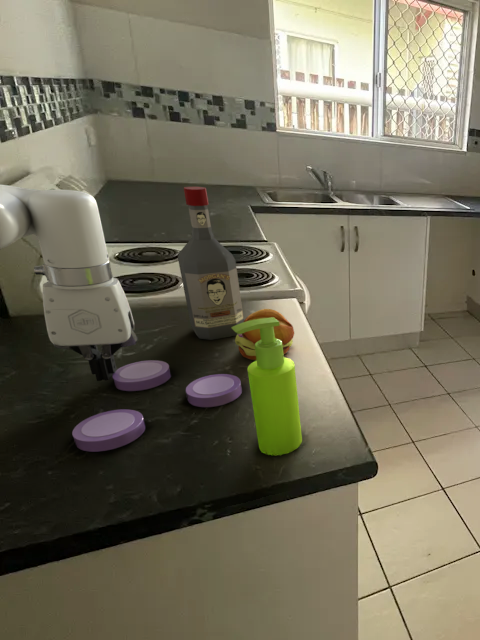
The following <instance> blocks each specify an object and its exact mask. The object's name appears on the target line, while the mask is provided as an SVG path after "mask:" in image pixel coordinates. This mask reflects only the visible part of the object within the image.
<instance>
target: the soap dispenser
mask: <svg viewBox="0 0 480 640" xmlns="http://www.w3.org/2000/svg"><path fill="white" fill-rule="evenodd" d="M274 326H280V325H279V321H278V320H276V319H275V318H274V317H271V318H261V319H255V320H250V321H246V322H243V323H240V324H238V325H235V326H233V327H231V328H232V329H233V330H234V331H235V332H236V333H237V334H242V333H245V332H248V331H251V330H255V329H260V336H261V340H259V341H257V342H256V343H255V352H256V359H257V360H254V361H253V362H251V363H250V364H249V365H248V366H247V369H246V370H247V376H248V384H249V390H250V397H251V403H252V410H253V416H254V424H255V430H256V431H255V432H256V438H257V445H258V449H259V451H260V452H261V453H262V454H264V455H267V456H282V455H287V454H289V453H292V452H293V451H295V450H297V449H298V448H299V447H300V446H301V444H302V443H303V435H302V434H303V433H302V427H301V416H300V408H299V407H300V406H299V405H300V404H299V395H298V386H297V376H296V375H297V374H296V365H295V362H294V361H293V360H292V359H291V358H288V357H285V354H283V345H282V341H281V340H279V339H276V338H275V335H274Z"/></svg>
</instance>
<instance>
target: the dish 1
mask: <svg viewBox="0 0 480 640" xmlns="http://www.w3.org/2000/svg"><path fill="white" fill-rule="evenodd" d="M145 431H146V422H145V419H144V415H143V414H142V413H141V412H140V411H138V410H136V409H135V410H134V409H125V408H122V409H121V408H120V409H113V410H108V411H103V412H99V413H97V414H94V415H92V416H89V417H87V418H85V419H84V420H82V421H80V422H79V423H78V424H76V426H74V427H73V429H72V432H71V434H72V438H73V441H74V444H75V446H76V448H78V449H79V450H81V451H82V452H83V451H84V452H89V453H90V452H91V453H97V452H106V451H110V450H115V449H118V448H122V447H124V446H126V445H128V444H130V443H133V442H134V441H136V440H137V439H139V438H140V437H141V436H142V435H143V434H144V433H145Z"/></svg>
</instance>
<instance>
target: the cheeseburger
mask: <svg viewBox="0 0 480 640" xmlns="http://www.w3.org/2000/svg"><path fill="white" fill-rule="evenodd" d="M271 317H274V318H275V319H276V320H278V321H279V325H280V326H274V335H275V338H276V339H279V340H281V341H282V345H283V354H284V355H285V354H286V353H288V351H290V347H292V345H293V343H294V341H293V338H294V336H295V329H294V326H293V324H292V323H291V322H289V321H288V320H287V318H286V317H285V316H284V315H283V314H282V313H281V312H279V311H277V310H275V309H271V308H262V309H258V310H256V311H254V312H252V313H250V314H249V315H248V316H246V318H244V322H246V321H250V320H255V319H261V318H271ZM259 340H261V336H260V329H255V330H251V331H248V332H245V333H242V334H238V335H235V339H234V342H235V345H236V346H238V351H239V353H240V355H241V356H242V357H243V358H246V359H249V360H251V361H257V359H256V352H255V343H256V342H257V341H259Z"/></svg>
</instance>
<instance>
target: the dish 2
mask: <svg viewBox="0 0 480 640" xmlns="http://www.w3.org/2000/svg"><path fill="white" fill-rule="evenodd" d="M171 377H172V372H171V368H170V365H169V363H167V362H166V361H163V360H157V359H155V360H154V359H152V360H151V359H149V360H148V359H147V360H141V361H136V362H132V363H127V364H125V365H123V366H121V367H118V368H116V372H115V373H113V375H112V376H111V378H112V381H113V384H114V387H115V388H116V389H118V390H120V391H124V392H125V391H126V392H136V391H137V392H138V391H144V390H149V389H153V388H156V387H158V386H161V385H163V384H165V383H166V382H167V381H169V380H170V379H171Z"/></svg>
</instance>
